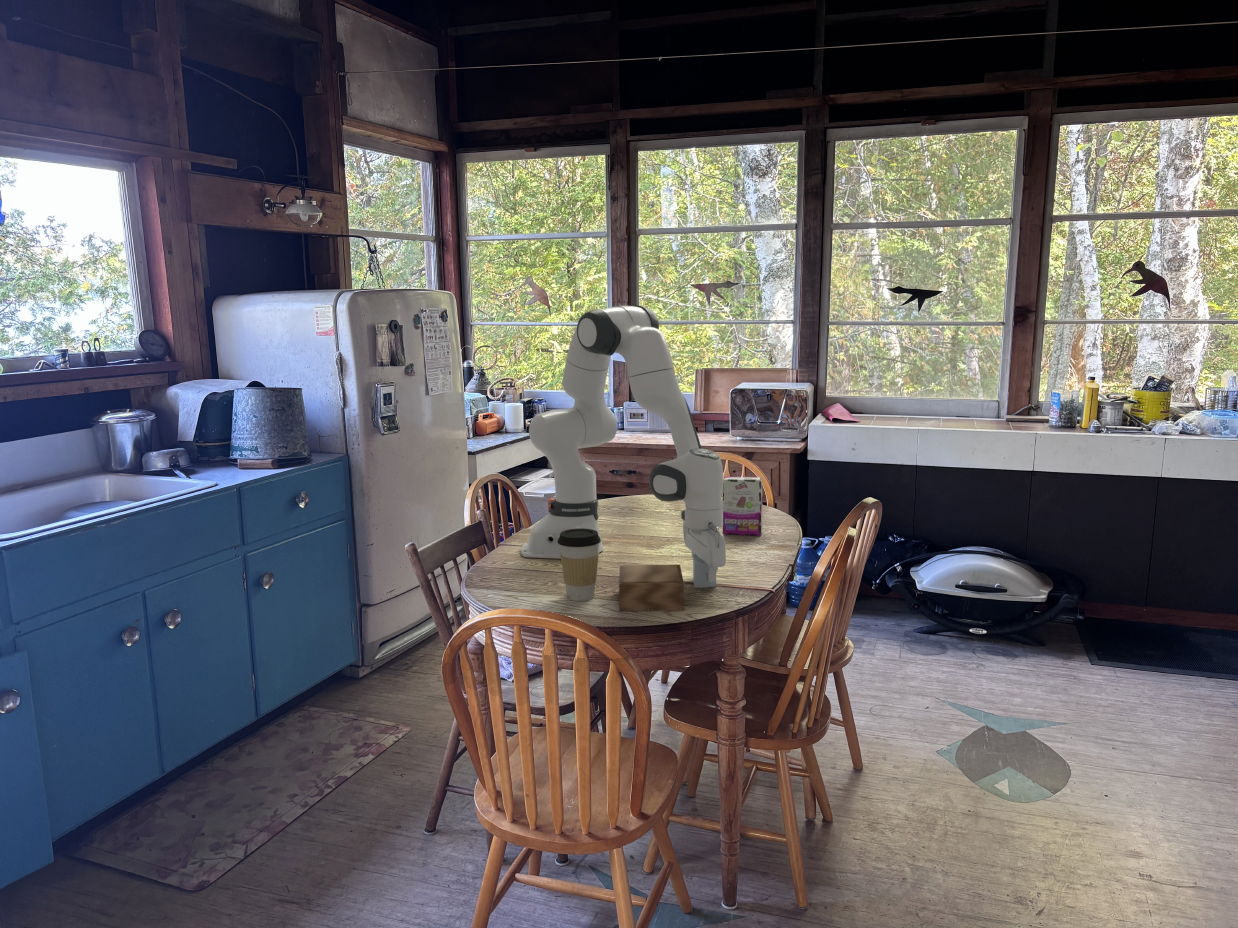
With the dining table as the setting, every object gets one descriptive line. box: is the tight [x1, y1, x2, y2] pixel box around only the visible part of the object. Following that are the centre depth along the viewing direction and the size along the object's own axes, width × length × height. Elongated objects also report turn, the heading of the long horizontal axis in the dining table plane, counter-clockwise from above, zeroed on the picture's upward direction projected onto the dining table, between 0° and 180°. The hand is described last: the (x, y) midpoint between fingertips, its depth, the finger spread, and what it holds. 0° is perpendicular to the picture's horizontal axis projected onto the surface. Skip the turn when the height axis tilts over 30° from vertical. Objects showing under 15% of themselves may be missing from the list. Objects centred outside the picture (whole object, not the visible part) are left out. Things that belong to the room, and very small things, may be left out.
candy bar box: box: [722, 476, 763, 537], centre depth 248 cm, size 11×5×16 cm, turn 76°
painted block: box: [692, 557, 717, 588], centre depth 204 cm, size 5×5×6 cm
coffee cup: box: [558, 528, 602, 602], centre depth 195 cm, size 10×10×15 cm
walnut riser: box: [618, 563, 685, 612], centre depth 193 cm, size 14×14×6 cm
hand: (704, 575), depth 204 cm, fingers open, 8 cm apart
